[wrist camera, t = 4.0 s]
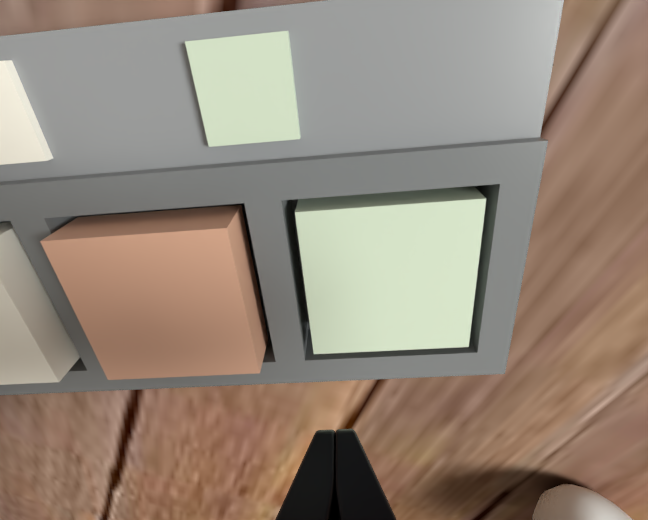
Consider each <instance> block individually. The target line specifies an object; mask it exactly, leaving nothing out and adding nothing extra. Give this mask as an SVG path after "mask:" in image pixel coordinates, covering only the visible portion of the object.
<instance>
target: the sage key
mask: <svg viewBox="0 0 648 520" xmlns="http://www.w3.org/2000/svg"><path fill="white" fill-rule="evenodd" d="M485 206H486V198H485V197H484V196H483V195H482V194H481V193H480V192H479V191H478V190H477V189H476V188H475V187H474V186H467V187H453V188H440V189H427V190H413V191H400V192H387V193H373V194H360V195H347V196H334V197H320V198H307V199H298V202H297V206H296V210H295V217H296V225H297V232H298V240H299V247H300V255H301V262H302V270H303V277H304V285H305V292H306V300H307V307H308V315H309V323H310V330H311V338H312V345H313V353H314V354H330V353H351V352H372V351H393V350H415V349H436V348H457V347H469V340H470V332H471V323H472V315H473V307H474V298H475V290H476V281H477V273H478V265H479V256H480V248H481V239H482V231H483V223H484V214H485Z"/></svg>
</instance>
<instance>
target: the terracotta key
mask: <svg viewBox="0 0 648 520" xmlns="http://www.w3.org/2000/svg"><path fill="white" fill-rule="evenodd" d="M40 242H41V244H42V246H43V248H44V250H45V253H46V255H47V257H48V259H49V261H50V263H51V265H52V267H53V269H54V271H55V273H56V275H57V277H58V279H59V281H60V283H61V285H62V287H63V289H64V291H65V293H66V295H67V297H68V299H69V301H70V304H71V306H72V308H73V310H74V312H75V314H76V316H77V318H78V320H79V322H80V324H81V326H82V328H83V330H84V332H85V334H86V336H87V338H88V340H89V342H90V344H91V346H92V348H93V350H94V352H95V354H96V357H97V359H98V361H99V363H100V365H101V367H102V369H103V371H104V373H105V375H106V377H107V379H108V380H121V379H143V378H166V377H188V376H211V375H233V374H256V373H260V371H261V367H262V363H263V358H264V354H265V350H266V346H267V342H268V335H267V330H266V325H265V320H264V315H263V310H262V305H261V300H260V295H259V290H258V285H257V281H256V276H255V271H254V266H253V261H252V256H251V251H250V246H249V241H248V236H247V231H246V226H245V221H244V216H243V211H242V206H241V205H234V206H220V207H207V208H193V209H180V210H167V211H153V212H140V213H127V214H113V215H100V216H87V217H77V218H76V219H74V220H73V221H71V222H69V223H68V224H66V225H65V226H63V227H62V228H60V229H59V230H57V231H55V232H54V233H52V234H51V235H49V236H48V237H46V238H44V239H43V240H41V241H40Z"/></svg>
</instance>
